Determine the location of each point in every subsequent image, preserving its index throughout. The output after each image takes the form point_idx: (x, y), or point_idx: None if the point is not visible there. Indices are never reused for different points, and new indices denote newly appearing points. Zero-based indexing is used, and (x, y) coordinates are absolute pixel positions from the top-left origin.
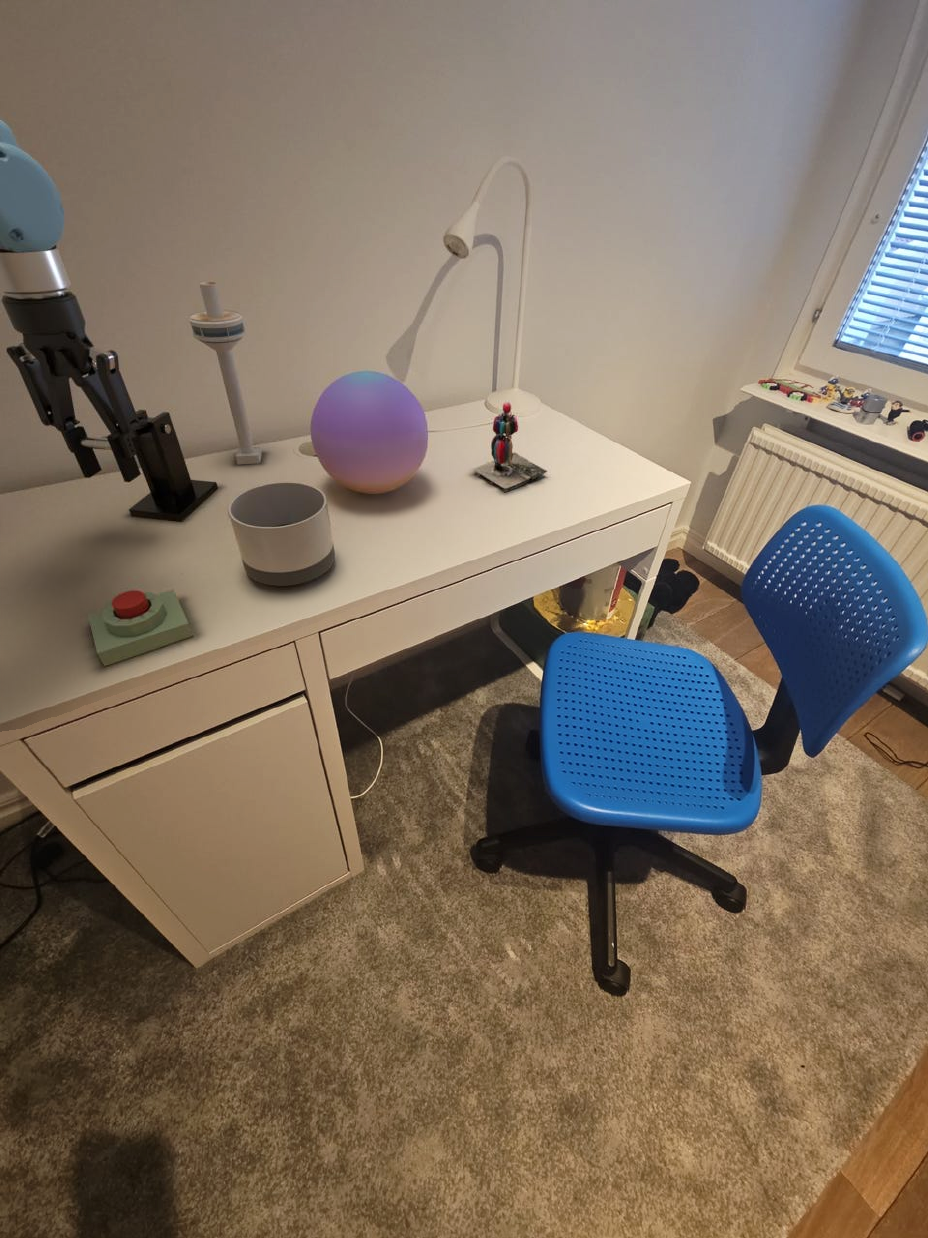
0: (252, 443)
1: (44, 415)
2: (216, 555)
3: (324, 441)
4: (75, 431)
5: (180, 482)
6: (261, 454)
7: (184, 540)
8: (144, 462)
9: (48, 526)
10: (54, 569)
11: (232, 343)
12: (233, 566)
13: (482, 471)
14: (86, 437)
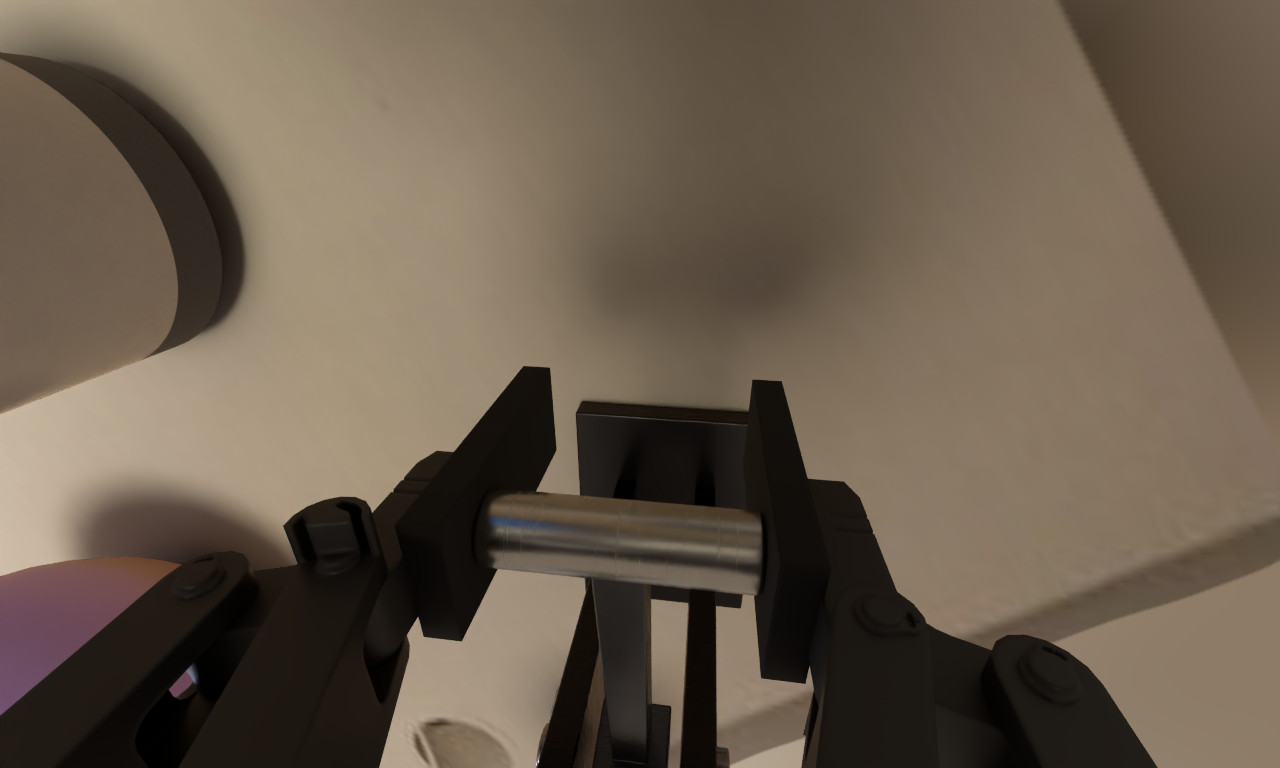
0: None
1: (1060, 745)
2: (358, 235)
3: (20, 691)
4: (770, 606)
5: None
6: None
7: (506, 301)
8: (690, 592)
9: (1033, 312)
10: (850, 23)
11: None
12: (269, 184)
13: None
14: (702, 570)
